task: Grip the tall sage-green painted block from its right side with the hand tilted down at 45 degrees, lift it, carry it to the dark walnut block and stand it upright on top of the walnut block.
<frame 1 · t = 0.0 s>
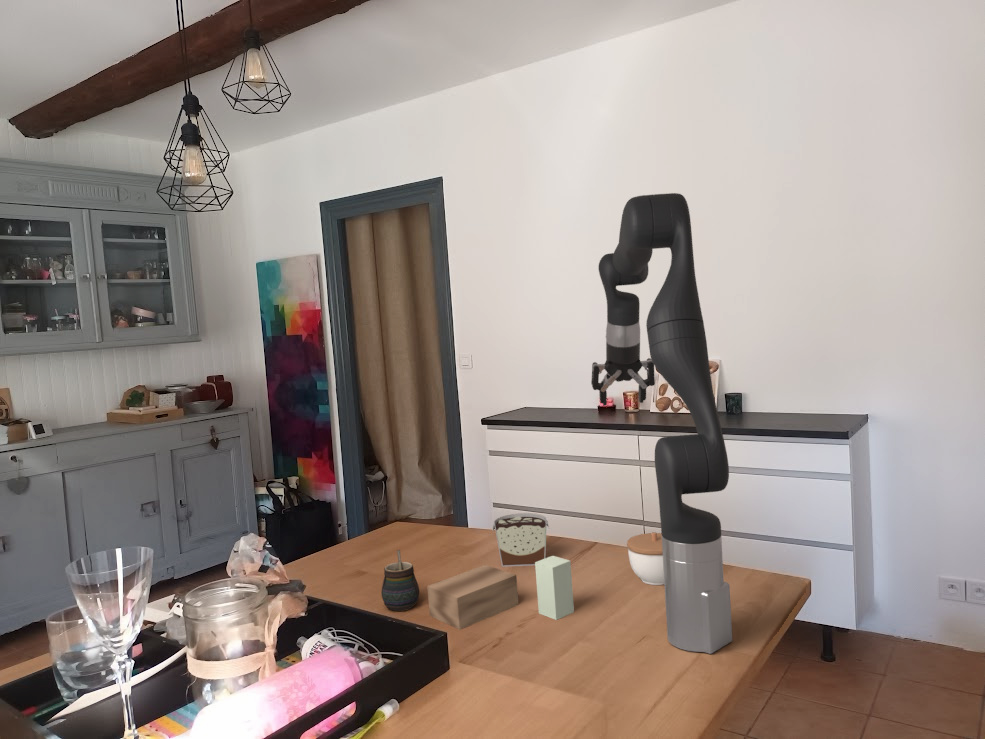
hand: (622, 402, 173), 31 cm above the table, tool tilted 20°, fingers open, 8 cm apart
mate gourd: (401, 607, 142), on the table
food container: (524, 561, 162), on the table
lidded jar: (656, 580, 146), on the table
walnut block: (474, 611, 138), on the table
sage block: (556, 612, 134), on the table
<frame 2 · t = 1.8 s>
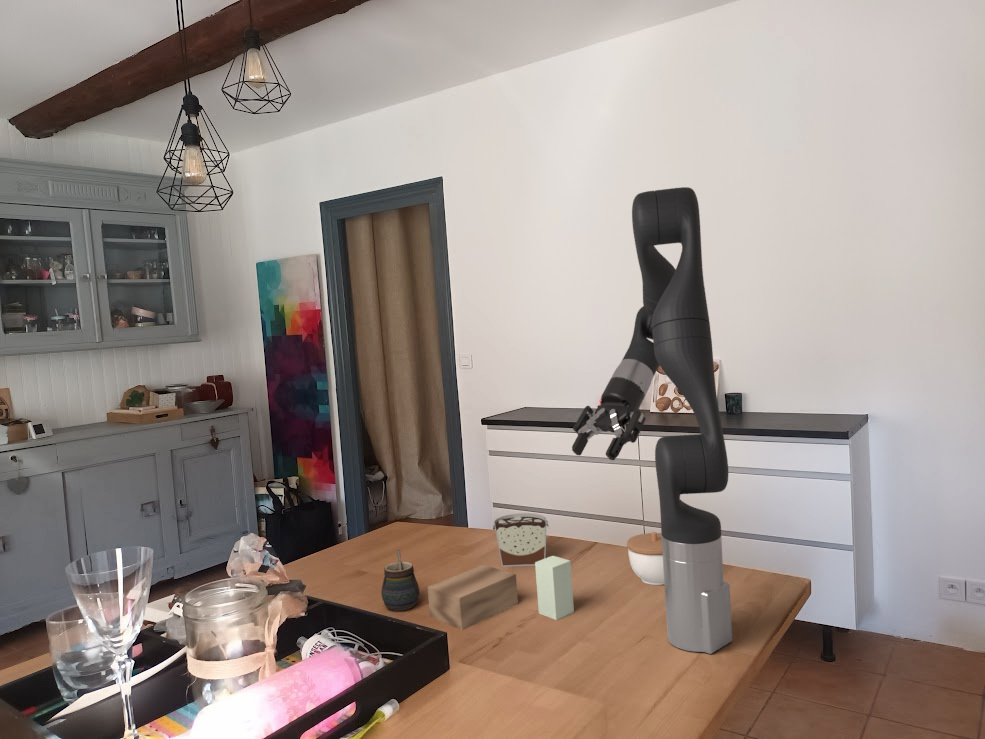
hand: (592, 455, 139), 27 cm above the table, tool tilted 45°, fingers open, 8 cm apart
nothing on the table moved.
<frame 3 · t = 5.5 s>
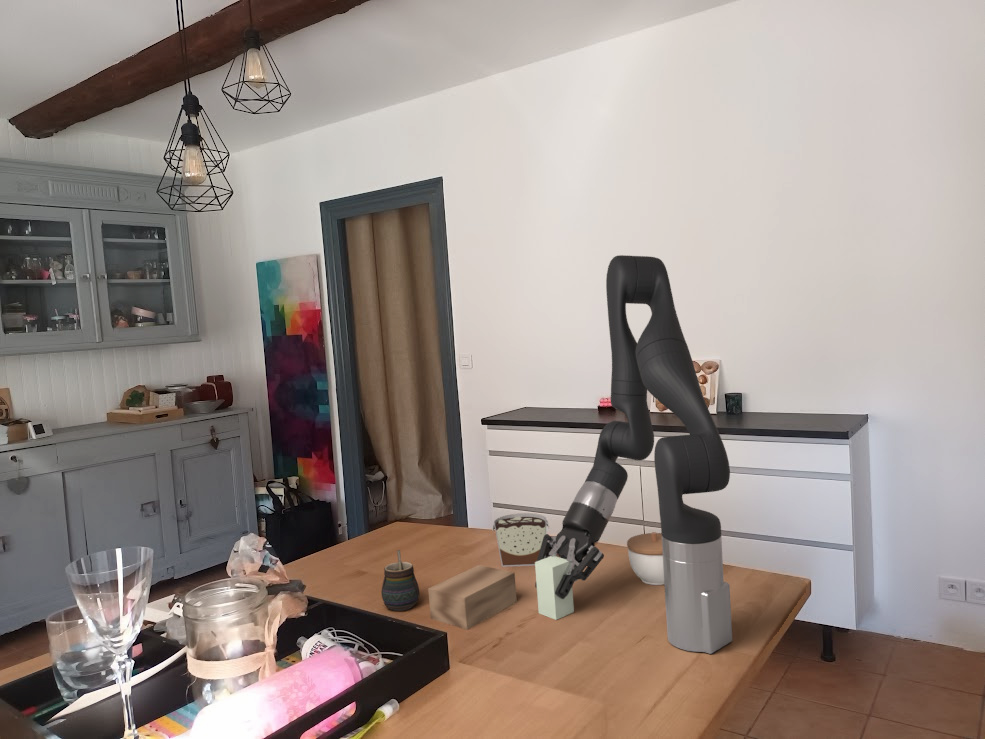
hand: (549, 592, 132), 4 cm above the table, tool tilted 45°, fingers closed on sage block, 4 cm apart
sage block: (556, 612, 134), on the table, touching gripper
everything else where it was.
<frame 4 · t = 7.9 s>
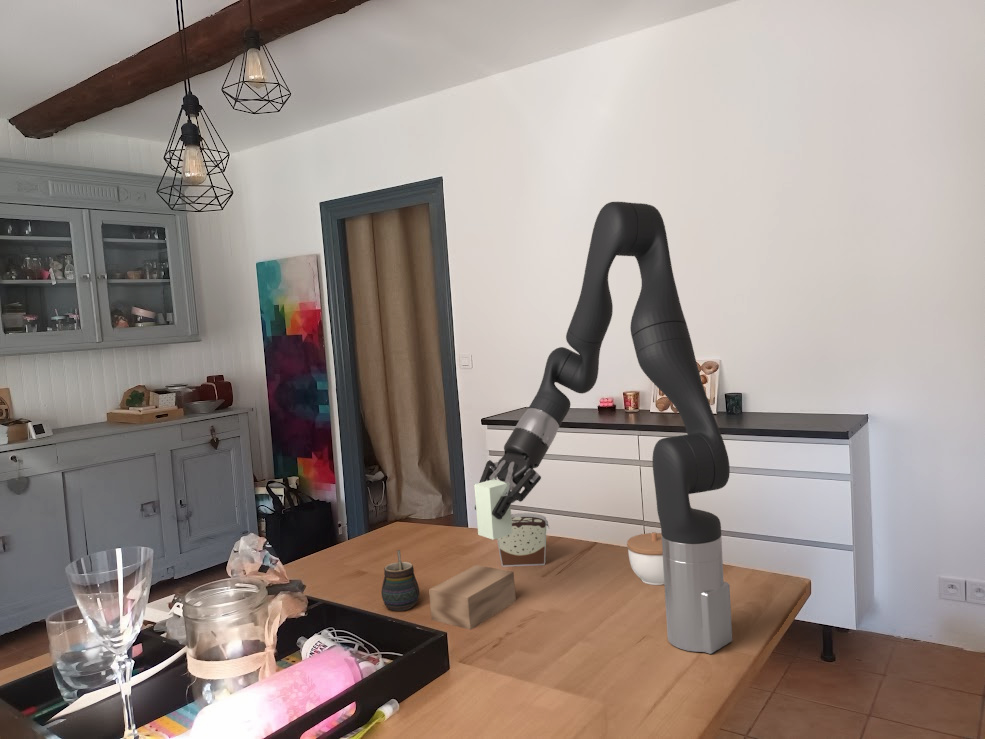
hand: (487, 514, 135), 18 cm above the table, tool tilted 45°, fingers closed on sage block, 4 cm apart
sage block: (495, 534, 136), point 14 cm above the table, touching gripper
everything else where it was.
when the fingers open (11 cm above the table, at t = 10.3 s): sage block drops 1 cm, resting on walnut block.
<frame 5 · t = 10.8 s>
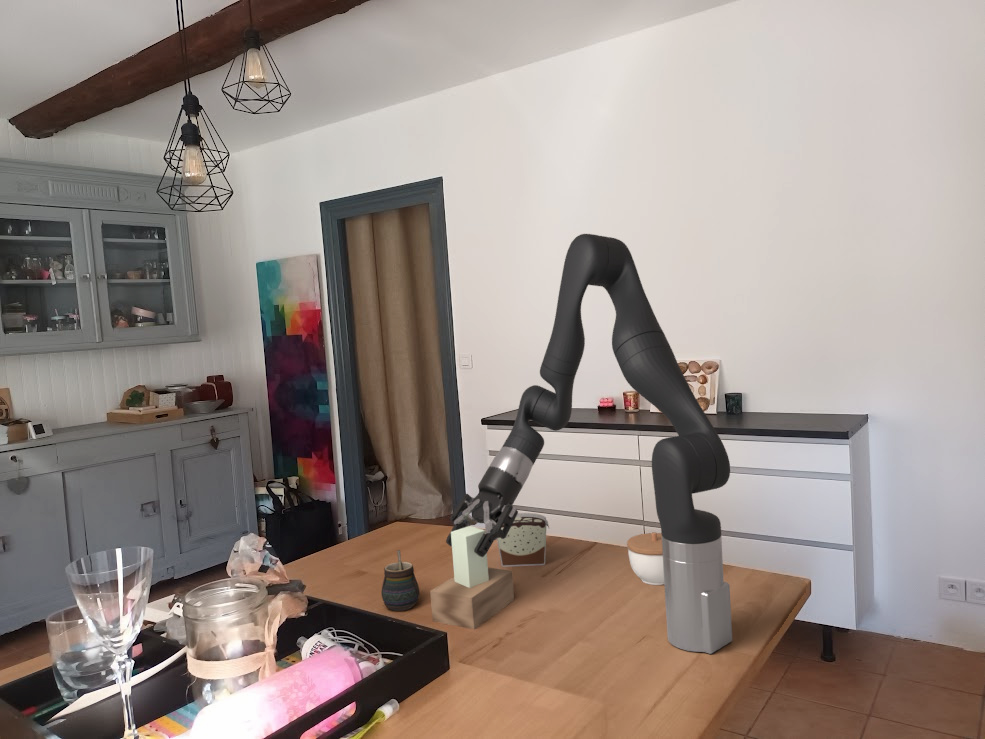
hand: (463, 549, 136), 12 cm above the table, tool tilted 45°, fingers open, 8 cm apart
walnut block: (474, 611, 138), on the table, touching sage block
sage block: (471, 581, 137), point 6 cm above the table, touching walnut block
everything else where it was.
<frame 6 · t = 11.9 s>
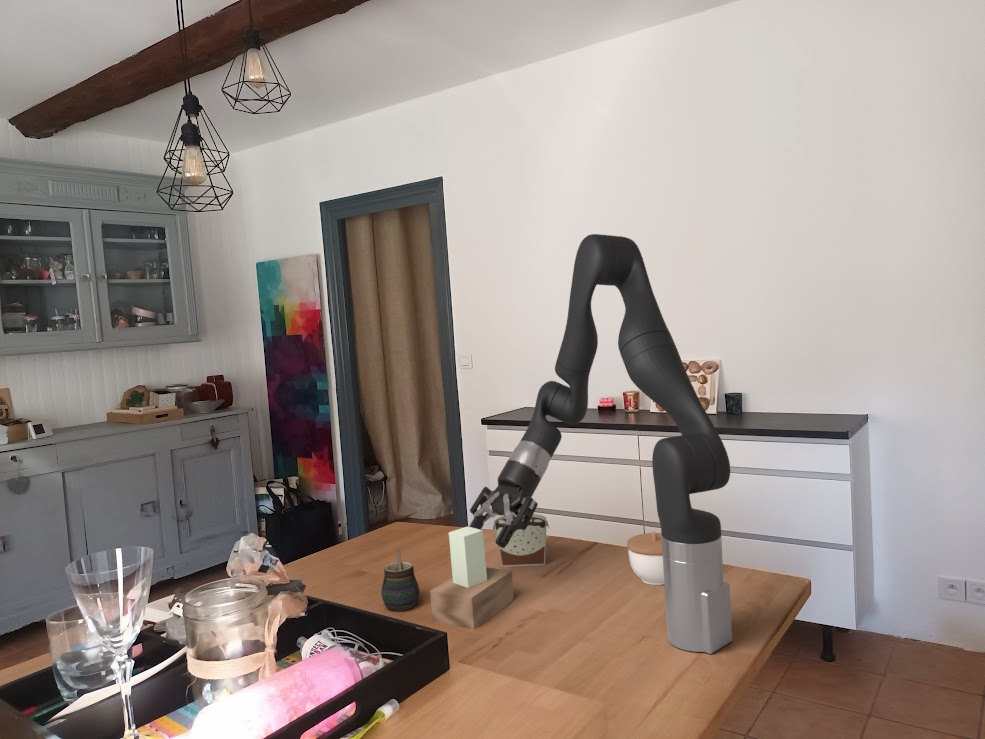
hand: (484, 541, 139), 12 cm above the table, tool tilted 45°, fingers open, 8 cm apart
nothing on the table moved.
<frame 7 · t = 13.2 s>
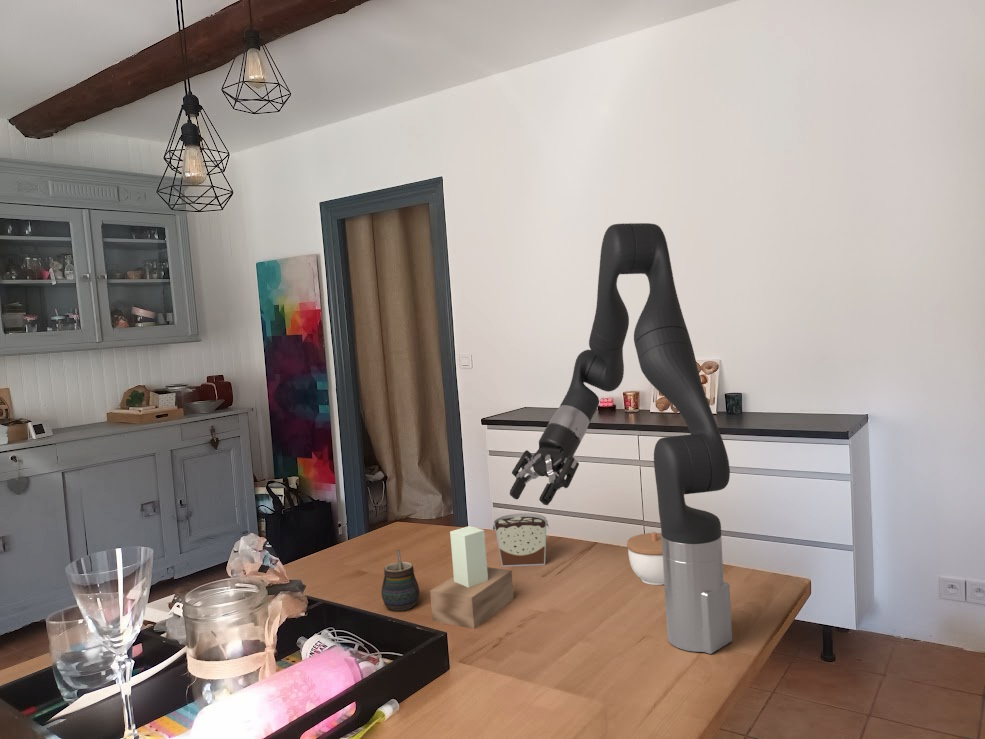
hand: (527, 499, 144), 18 cm above the table, tool tilted 45°, fingers open, 8 cm apart
nothing on the table moved.
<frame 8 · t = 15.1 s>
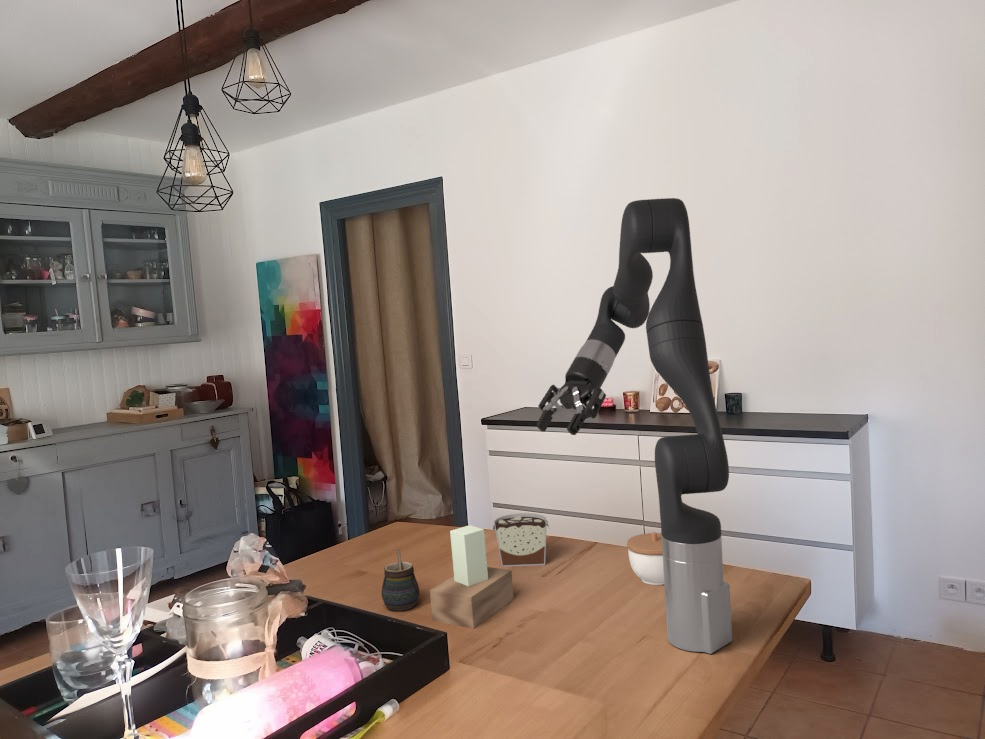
hand: (555, 430, 146), 31 cm above the table, tool tilted 45°, fingers open, 8 cm apart
nothing on the table moved.
at the end: sage block inside the target area on the walnut block (0.1 cm from its centre), point 6.0 cm above the walnut block's base; sage block tilted 0°; the gripper is holding nothing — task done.
